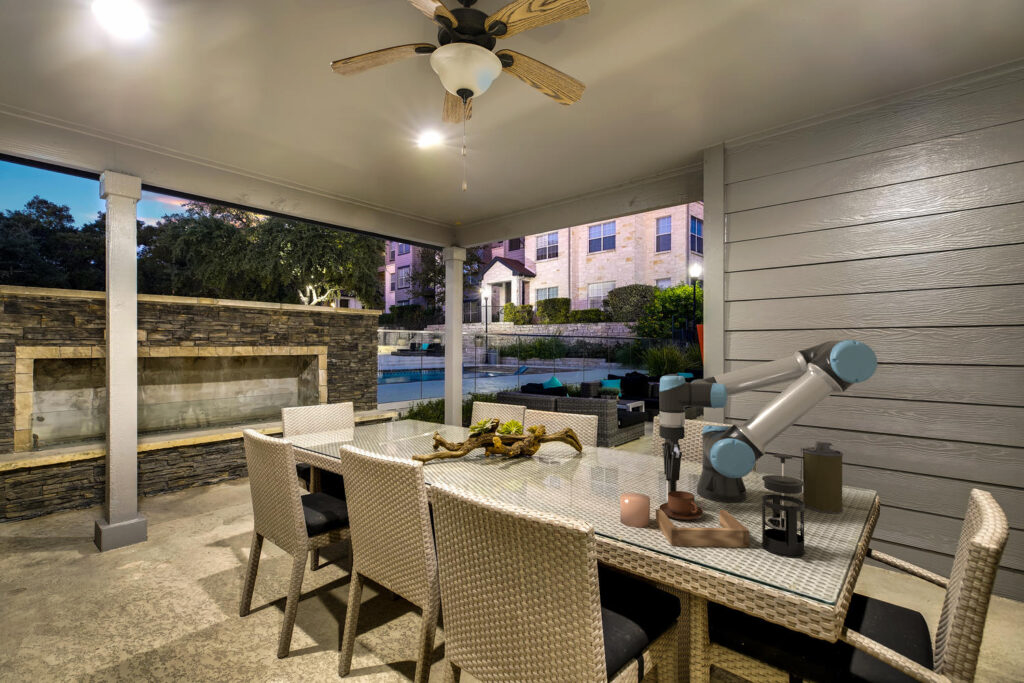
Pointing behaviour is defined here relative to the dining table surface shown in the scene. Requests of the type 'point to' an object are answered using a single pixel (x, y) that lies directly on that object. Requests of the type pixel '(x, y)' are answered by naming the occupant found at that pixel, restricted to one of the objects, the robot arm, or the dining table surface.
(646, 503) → the peach rounded capsule
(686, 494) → the cup and saucer
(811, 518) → the dining table surface
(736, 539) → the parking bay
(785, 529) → the french press
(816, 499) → the canister
